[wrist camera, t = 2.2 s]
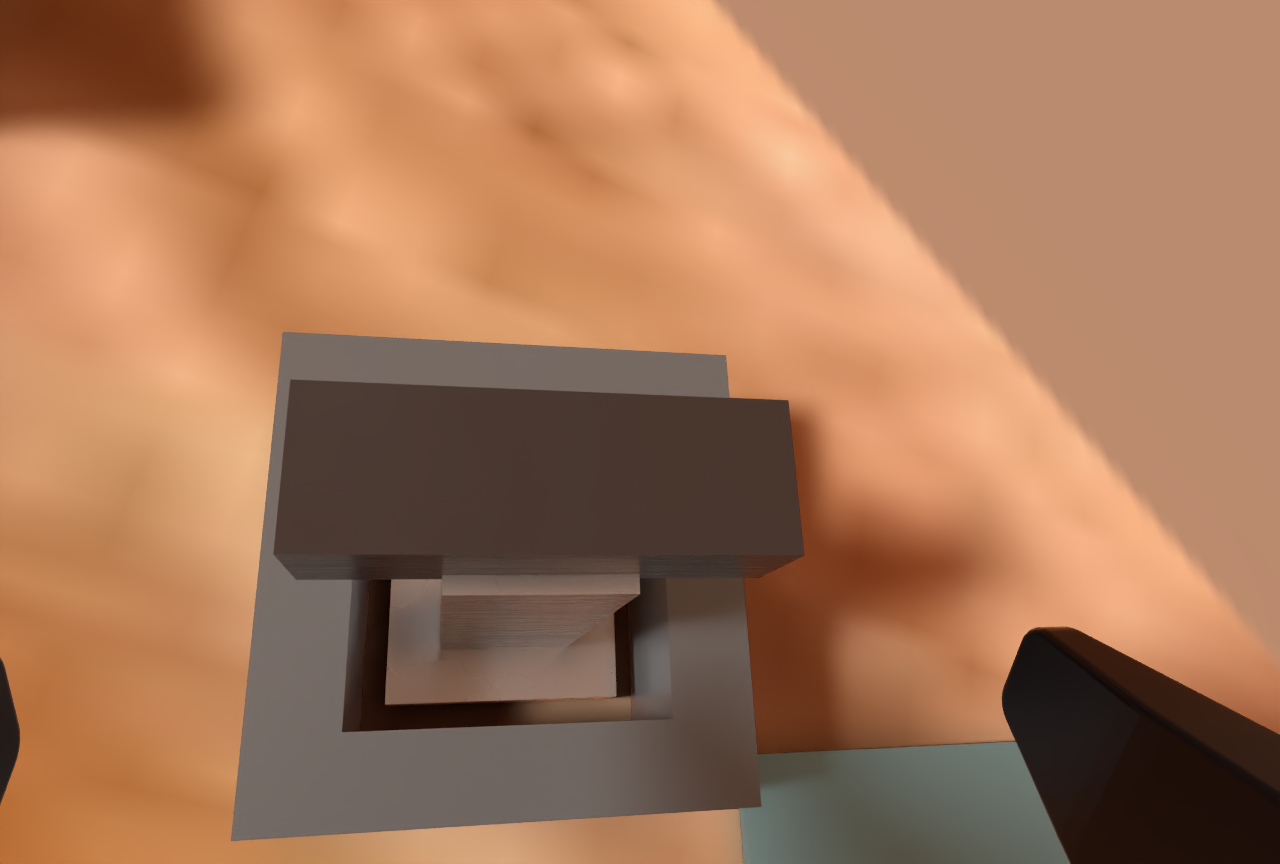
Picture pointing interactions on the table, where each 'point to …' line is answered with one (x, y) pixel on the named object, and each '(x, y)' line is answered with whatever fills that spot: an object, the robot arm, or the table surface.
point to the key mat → (899, 808)
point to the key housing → (493, 755)
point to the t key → (526, 520)
